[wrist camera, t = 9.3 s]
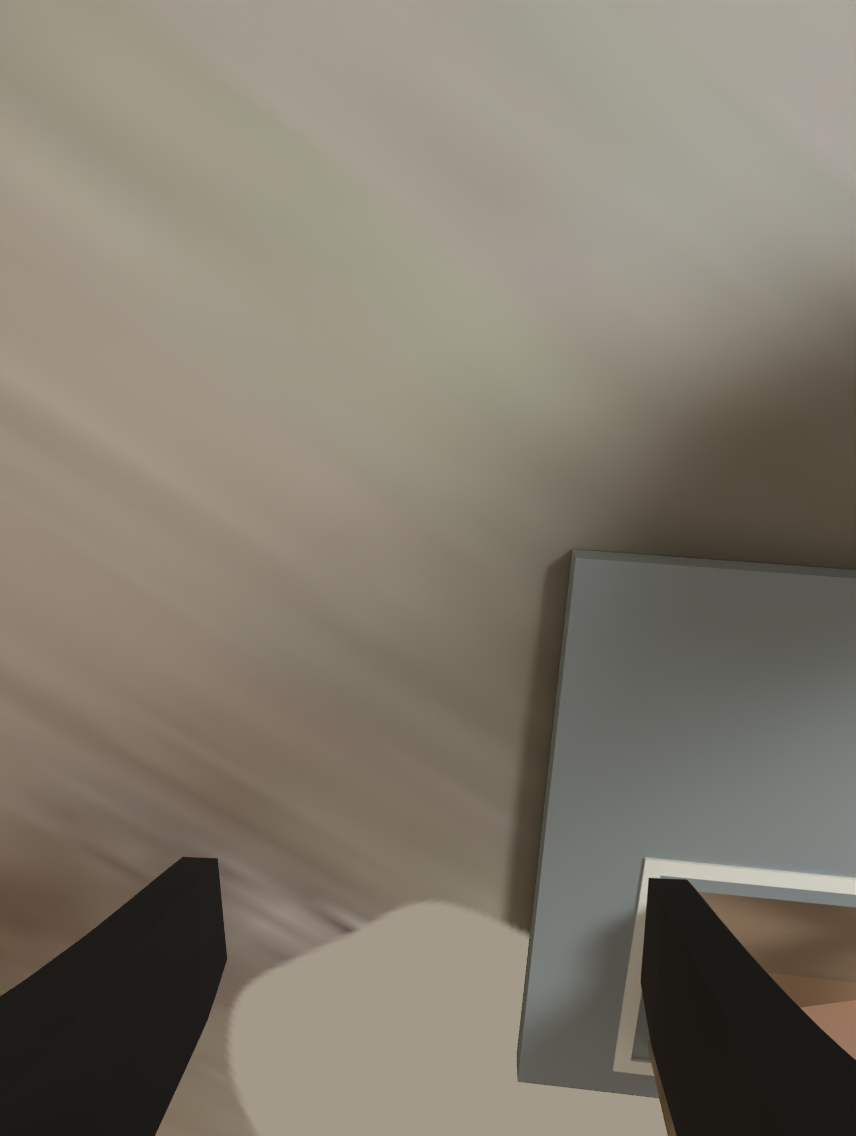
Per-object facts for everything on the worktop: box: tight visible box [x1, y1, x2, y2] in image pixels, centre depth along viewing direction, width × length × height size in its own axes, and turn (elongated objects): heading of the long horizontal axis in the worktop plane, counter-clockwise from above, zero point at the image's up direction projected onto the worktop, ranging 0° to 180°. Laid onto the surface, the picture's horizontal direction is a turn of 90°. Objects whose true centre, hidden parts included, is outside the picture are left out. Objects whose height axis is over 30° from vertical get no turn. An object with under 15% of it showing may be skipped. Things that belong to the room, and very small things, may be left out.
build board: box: [517, 549, 856, 1098], centre depth 23 cm, size 12×18×1 cm, turn 177°
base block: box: [648, 892, 856, 1136], centre depth 22 cm, size 6×6×3 cm
